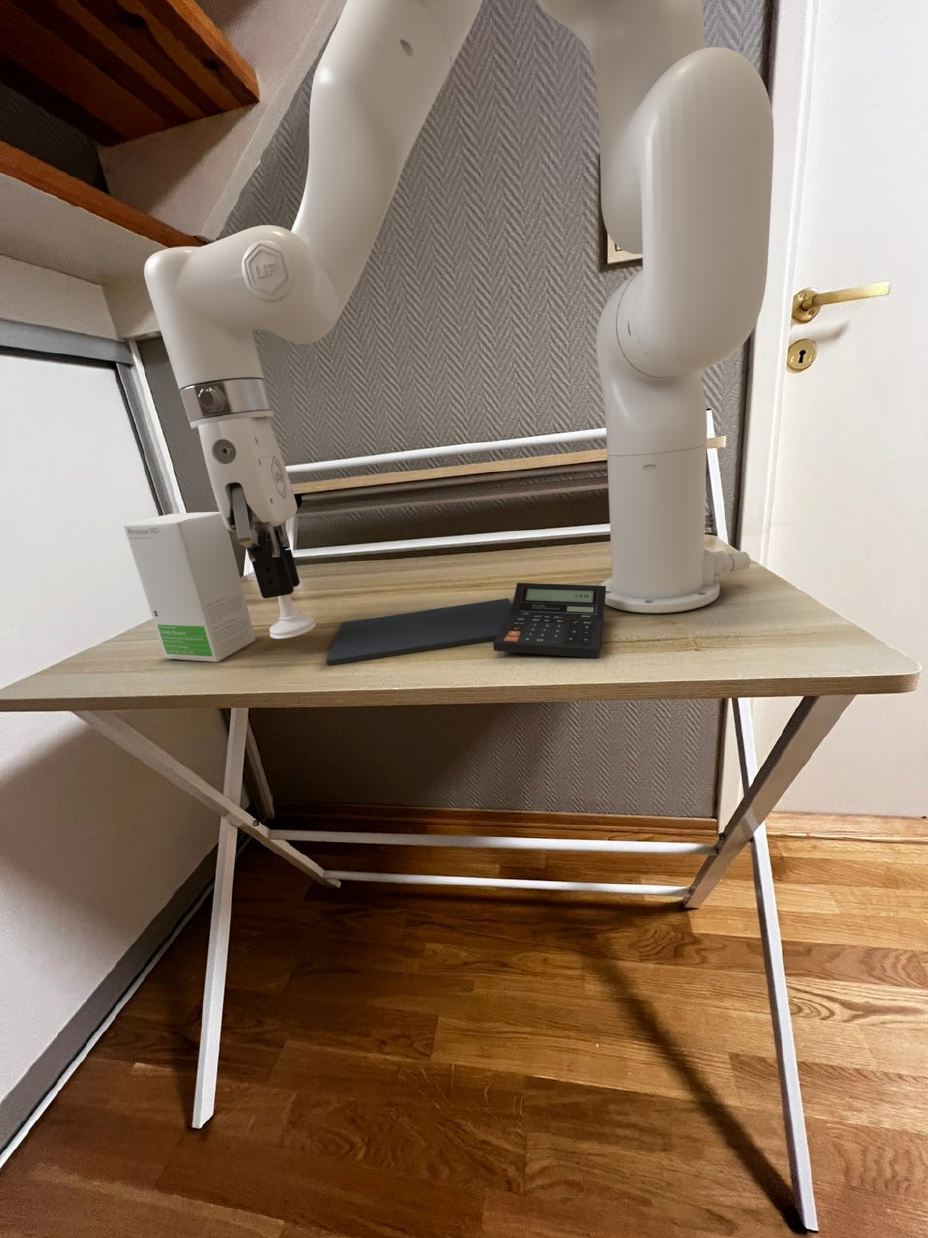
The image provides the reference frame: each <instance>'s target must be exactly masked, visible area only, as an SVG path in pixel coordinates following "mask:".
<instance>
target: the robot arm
mask: <svg viewBox="0 0 928 1238" xmlns="http://www.w3.org/2000/svg"><path fill="white" fill-rule="evenodd" d="M483 1H484V0H347V1H346V3H345V5H344V7H343V10H342V11H341V14H340V16H339V18H338V20H337V23H336V26H335V27H334V30H333V31H332V33H331V35H330V38H329V41H328V43H327V44H326V47H325V50H324V51H323V54H322V55H321V57H320V60H319V62H318V65H317V67H316V68H315V69H316V70H315V71H314V76H313V80H312V85H311V93H310V102H309V119H308V120H309V123H308V124H309V125H308V126H309V127H308V128H309V129H308V130H309V132H308V134H309V138H308V139H309V141H308V142H309V143H308V147H309V151H308V152H309V154H308V164H307V165H308V167H307V175H306V180H305V186H304V190H303V195H302V199H301V202H300V206H299V209H298V212H297V214H296V217H295V220H294V222H293V226H292V227H291V230H289V229H287V228H285V227H282V226H278V225H272V224H263V225H257V226H252V227H249V228H246V229H243V230H241V231H239V232H236V233H234V234H231V235H229V236H226V237H224V238H221V239H218V240H216V241H213V242H211V243H208V244H205V245H202V246H189V245H188V246H173V247H169V248H166V249H165V248H164V249H162V250H159V251H156V252H154V253H153V254H151V255H150V256H149V257H148V258H147V259H146V261H145V263H144V267H143V277H144V280H145V285H146V288H147V291H148V295H149V298H150V300H151V304H152V307H153V310H154V313H155V316H156V320H157V323H158V326H159V330H160V333H161V336H162V340H163V343H164V345H165V349H166V352H167V355H168V358H169V361H170V365H171V369H172V371H173V375H174V377H175V381H176V383H177V387H178V390H179V393H180V396H181V400H182V404H183V406H184V409H185V411H186V416H187V419H188V422H189V425H190V428H191V430H198V434H199V438H200V439H199V440H200V443H201V444H200V445H201V448H202V452H203V458H204V462H205V465H206V469H207V472H208V473H207V474H208V477H209V481H210V485H211V488H212V491H213V495H214V498H215V502H216V504H217V508H218V512H220V514H221V516H222V519H223V522H224V524H225V526H226V528H227V529H228V531H230V532H232V533H235V534H236V536H237V537H236V538H237V541H238V543H239V544H240V545H241V546H243V547H245V549H246V552H247V556H248V558H249V561H250V562H251V565H252V568H253V572H254V575H255V578H256V582H257V585H258V588H259V592H260V595H261V597H262V598H263V599H271V598H278V596H283V595H289V596H290V595H292V594H293V593H294V590H295V589H294V588H296V587H298V586H300V583H301V581H300V577H299V573H298V570H297V567H296V563H295V559H294V555H293V551H292V548H291V543H290V540H289V536H288V532H287V529H286V525H285V524H286V522H287V521H288V520H290V519H291V518H292V517H294V516H295V514H296V513H297V511H298V505H297V500H296V498H295V494H294V490H293V488H292V484H291V481H290V478H289V474H288V471H287V468H286V465H285V462H284V461H285V460H284V458H283V455H282V452H281V449H280V447H279V444H278V441H277V438H276V435H275V432H274V430H273V428H272V427H273V426H272V424H271V423H270V419H273V418H275V415H274V414H275V413H274V411H273V407H272V404H271V403H272V402H271V400H270V396H269V391H268V388H267V384H266V381H265V376H264V373H263V368H262V365H261V361H260V357H259V353H258V350H257V349H258V348H257V345H256V342H255V338H254V334H253V331H254V330H255V331H256V330H261V331H265V332H269V333H273V334H275V335H277V336H279V337H280V338H281V339H284V340H286V341H287V342H291V343H293V344H299V345H308V344H313V343H316V342H318V341H320V340H322V339H323V338H324V337H326V336H327V335H328V334H329V332H331V331H332V329H333V328H334V326H335V325H336V324H337V322H338V321H339V319H340V317H341V315H342V313H343V311H344V309H345V307H346V305H347V303H348V301H349V299H350V297H351V295H352V293H353V291H354V289H355V287H356V285H357V283H358V281H359V280H360V278H361V275H362V273H363V271H364V269H365V267H366V264H367V262H368V260H369V258H370V255H371V252H372V251H373V248H374V245H375V242H376V240H377V238H378V235H379V232H380V229H381V227H382V224H383V223H384V219H385V217H386V214H387V212H388V210H389V207H390V205H391V203H392V200H393V198H394V196H395V193H396V190H397V187H398V185H399V181H400V178H401V176H402V175H401V174H402V172H403V169H404V166H405V163H406V161H407V160H408V157H409V155H410V153H411V151H412V149H413V147H414V144H415V142H416V140H417V138H418V137H419V134H420V132H421V131H422V128H423V126H424V124H425V122H426V120H427V118H428V116H429V114H430V112H431V110H432V108H433V106H434V104H435V101H436V100H437V98H438V96H439V93H440V92H441V90H442V88H443V86H444V83H445V82H446V80H447V77H449V73H450V71H451V70H452V67H453V66H454V63H455V61H456V59H457V57H458V55H459V54H460V52H461V49H462V48H463V46H464V43H465V42H466V39H467V38H468V36H469V33H470V32H471V29H472V27H473V25H474V23H475V20H476V19H477V16H478V14H479V11H480V9H481V7H482V4H483ZM536 1H537V3H538V4H539V6H540V7H541V8H542V9H543V11H545V13H546V14H548V15H549V16H550V17H551V18H552V19H553V20H555V21H556V22H558V23H559V24H561V25H562V26H563V27H565V28H566V29H568V30H569V31H570V32H571V33H572V34H574V35H575V36H576V37H577V38H578V39H579V41H581V43H582V44H583V45H584V47H585V48H586V49H587V52H588V54H589V56H590V58H591V61H592V65H593V69H594V75H595V76H594V77H595V85H596V87H595V88H596V96H597V106H598V107H597V108H598V135H599V163H600V164H599V165H600V166H599V167H600V168H599V169H600V207H601V213H602V219H603V224H604V228H605V230H606V232H607V234H608V236H609V239H611V241H612V242H613V243H614V244H615V245H616V246H617V247H618V248H619V249H621V250H622V251H623V252H626V253H629V254H632V255H642V268H641V269H639V270H638V271H636V272H635V273H634V274H632V275H631V276H630V277H629V278H627V279H626V280H624V282H622V283H621V284H620V285H619V286H618V287H617V289H616V290H615V291H614V292H613V293H612V295H610V297H609V299H608V300H607V302H606V304H605V306H604V308H603V310H602V313H601V314H600V316H599V317H600V318H599V320H598V324H597V325H598V326H597V330H596V337H595V339H596V340H595V351H596V362H597V367H598V375H599V379H600V385H601V392H602V398H603V399H602V400H603V407H604V417H605V419H604V420H605V433H606V459H607V463H606V464H607V484H608V487H607V488H608V510H609V511H608V513H609V534H610V557H611V559H610V560H611V577H609V578H607V579H605V580H604V581H602V582H601V583H600V584H599V586H606V596H605V606H606V605H607V606H608V607H611V608H614V609H617V610H621V611H626V612H631V613H640V614H641V613H642V614H668V613H679V612H684V611H690V610H694V609H698V608H702V607H704V606H707V605H709V604H711V603H713V602H714V601H715V600H716V599H717V598H718V597H720V582H719V581H718V580H717V579H716V577H720V576H721V574H722V573H723V572H738V571H744V570H748V569H749V568H750V566H751V557H750V555H749V553H748V552H747V551H740V552H733V553H728V554H725V551H724V550H719V551H713V552H712V551H710V550H707V549H705V543H706V542H705V537H706V536H705V535H706V533H705V532H706V490H707V489H706V485H707V444H708V416H707V403H706V398H705V392H704V387H703V384H702V383H703V382H702V379H701V375H700V374H701V373H700V371H704V370H706V369H709V368H712V367H715V366H717V365H719V364H721V363H722V362H725V361H726V360H727V359H729V358H730V357H732V356H733V355H734V354H735V353H736V352H738V350H739V349H740V348H741V347H742V346H744V343H746V341H747V340H748V338H749V337H750V335H751V334H752V332H753V330H754V328H755V326H756V324H757V323H758V319H759V317H760V314H761V310H762V308H763V304H764V303H763V302H764V299H765V293H766V285H767V277H768V266H769V265H768V263H769V248H770V233H771V232H770V231H771V212H772V195H773V194H772V193H773V172H774V152H775V151H774V149H775V147H774V144H775V130H774V128H775V127H774V117H773V110H772V105H771V100H770V98H769V93H768V91H767V88H766V85H765V83H764V81H763V79H762V77H761V75H760V73H759V71H758V70H757V68H756V67H755V66H754V65H753V64H752V63H751V62H750V61H749V60H748V59H747V58H746V57H745V55H743V54H741V53H740V52H737V51H735V50H733V49H731V48H728V47H722V46H711V47H706V33H705V32H706V31H705V30H706V29H705V16H704V15H705V14H704V5H703V1H702V0H536ZM267 540H268V541H267Z"/></svg>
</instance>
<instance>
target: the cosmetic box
mask: <svg viewBox="0 0 928 1238" xmlns="http://www.w3.org/2000/svg"><path fill="white" fill-rule="evenodd" d="M123 528H124V532H125V534H126V537H127V541H128V543H129V547H130V551H131V554H132V557H133V560H134V562H135V566H136V569H137V572H138V575H139V578H140V581H141V585H142V588H143V592H144V594H145V598H146V601H147V604H148V608H149V611H150V614H151V617H152V620H153V624H154V626H155V630H156V632H157V636H158V639H159V640H158V641H159V642H160V645H161V649H162V652H163V655H164V658H165V659H168V660H180V661H181V660H183V661H199V662H211V663H219V662H221V661H222V660H225V659H226V658H227V657H229V656H231V655H233V654H234V653H236V652H238V651H240V650H242V649H244V648H245V647H247V646H249V645H250V644H252V643H254V642H255V641H256V636H255V632H254V627H253V624H252V620H251V615H250V612H249V608H248V604H247V601H246V600H247V599H246V595H245V592H244V588H243V583H242V580H241V579H242V578H241V576H240V571H239V567H238V564H237V560H236V556H235V551H234V547H233V544H232V539H231V535H230V532H229V531H230V530H229V529H227V528H226V526H225V524H224V522H223V519H222V516H221V514H220V511H207V512H206V511H204V512H203V511H202V512H200V511H199V512H198V511H197V512H181V513H180V512H179V513H167V514H164V515H159V516H155V517H150V518H146V519H142V520H138V521H132V522H129V523H126V524H123Z"/></svg>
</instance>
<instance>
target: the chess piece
mask: <svg viewBox="0 0 928 1238" xmlns="http://www.w3.org/2000/svg"><path fill="white" fill-rule="evenodd" d="M267 541H268V540H267ZM277 600H278V606H279V607H278V608H279V616H278V617H277V620H278V621H276V622H274V623H272V625H270V626H269V629H268V632H269V637H270V638H272V639H275V640H283V639H291V638H294V637H299V636H300V635H304V634H305V633H306V634H307V633H308V632H310V631H312V630H313V629H314V628H316V625H317V623H316V621H315V618H314V617H313V616H311V615H306V614H301V613H300V611H297V610H296V607H295V606H294V603H293V600H292V599H291V596H290V594H289V595H283V596H278V597H277Z"/></svg>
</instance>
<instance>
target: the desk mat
mask: <svg viewBox="0 0 928 1238" xmlns="http://www.w3.org/2000/svg"><path fill="white" fill-rule="evenodd" d="M511 609H512V603H511V600H510V599H509V597H507V598H498V599H493V600H487V601H479V602H473V603H465V604H459V605H452V606H446V607H440V608H433V609H426V610H419V611H412V612H405V613H398V614H391V615H386V616H379V617H371V618H366V619H358V620H353V621H345V622H342V623H341V625H340V627H339V630H338V631H337V634H336V637H335V639H334V641H333V643H332V646H331V648H330V651H329V653H328V655H327V657H326V660H325V661H326V666H335V665H341V664H347V663H354V662H360V661H367V660H372V659H380V658H386V657H394V656H400V655H407V654H413V653H420V652H426V651H434V650H441V649H447V648H452V647H460V646H467V645H474V644H479V643H485V642H492V641H493V642H494V640H495V639H496V637H497V635H498V634H499V632H500V630H501V629H502V627H503V625H504V624H505V622H506V620H507V618H508V617H509V615H510V613H511Z"/></svg>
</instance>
